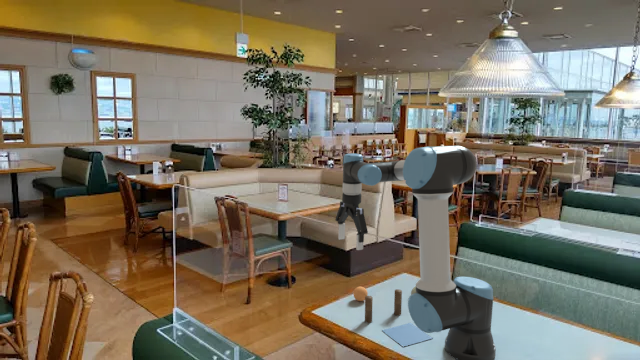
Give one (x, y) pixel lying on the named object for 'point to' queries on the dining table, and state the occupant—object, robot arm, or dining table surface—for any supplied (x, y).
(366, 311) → the post left
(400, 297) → the post right
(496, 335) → the dining table surface
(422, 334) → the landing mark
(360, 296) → the ball
